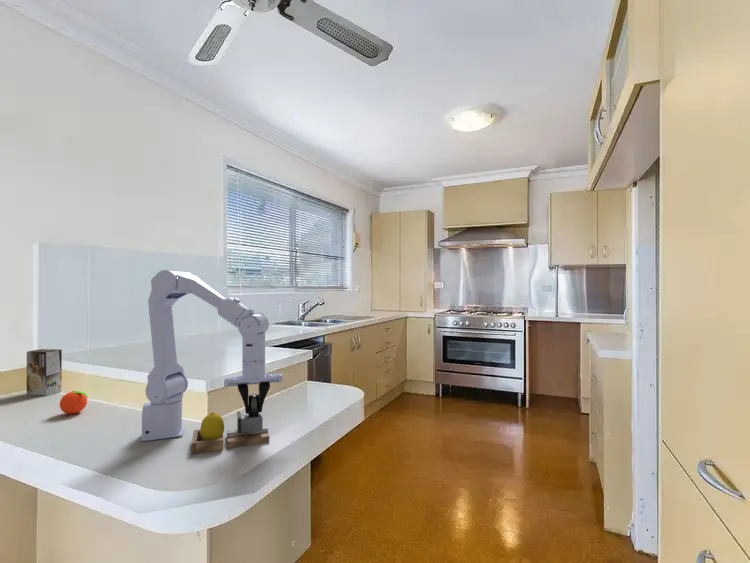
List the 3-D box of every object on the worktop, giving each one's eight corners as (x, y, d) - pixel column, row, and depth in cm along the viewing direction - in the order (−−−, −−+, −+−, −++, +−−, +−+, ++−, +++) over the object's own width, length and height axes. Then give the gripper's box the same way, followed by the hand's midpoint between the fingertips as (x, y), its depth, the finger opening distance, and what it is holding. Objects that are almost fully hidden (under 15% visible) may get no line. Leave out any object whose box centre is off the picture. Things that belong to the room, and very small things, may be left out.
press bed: (227, 447, 96) (227, 437, 96) (226, 436, 104) (226, 427, 104) (269, 442, 100) (269, 432, 100) (265, 431, 107) (265, 422, 108)
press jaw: (237, 433, 98) (238, 399, 99) (236, 426, 104) (237, 394, 104) (262, 430, 101) (262, 397, 101) (260, 423, 106) (260, 392, 106)
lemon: (215, 449, 96) (215, 416, 96) (195, 447, 97) (195, 415, 97) (228, 440, 101) (228, 409, 101) (209, 439, 102) (209, 408, 102)
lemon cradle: (191, 454, 93) (191, 443, 93) (193, 439, 102) (193, 430, 102) (223, 449, 95) (223, 439, 95) (222, 436, 104) (222, 426, 104)
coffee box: (62, 391, 149) (63, 349, 149) (46, 396, 143) (46, 351, 143) (42, 390, 151) (42, 348, 151) (24, 394, 144) (25, 351, 145)
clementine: (95, 409, 127) (96, 387, 127) (80, 417, 120) (80, 393, 120) (70, 410, 126) (70, 388, 126) (53, 417, 119) (53, 393, 119)
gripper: (224, 364, 96) (224, 420, 96) (284, 360, 102) (284, 413, 102) (224, 359, 103) (223, 411, 103) (280, 356, 108) (280, 405, 108)
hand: (253, 412), depth 103 cm, fingers closed on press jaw, 3 cm apart
